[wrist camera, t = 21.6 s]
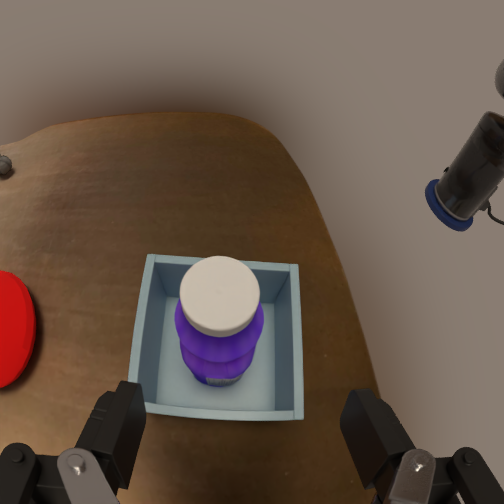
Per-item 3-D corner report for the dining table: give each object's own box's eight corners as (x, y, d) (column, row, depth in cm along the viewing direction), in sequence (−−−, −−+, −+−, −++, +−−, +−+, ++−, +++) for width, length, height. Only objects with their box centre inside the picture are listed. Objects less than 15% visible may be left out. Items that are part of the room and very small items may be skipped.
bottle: (244, 390, 28) (277, 364, 13) (188, 386, 27) (153, 353, 13) (247, 324, 32) (277, 232, 17) (194, 320, 31) (176, 223, 16)
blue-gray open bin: (279, 300, 35) (298, 264, 27) (280, 418, 28) (304, 419, 20) (162, 293, 33) (147, 253, 26) (150, 410, 26) (125, 408, 19)
